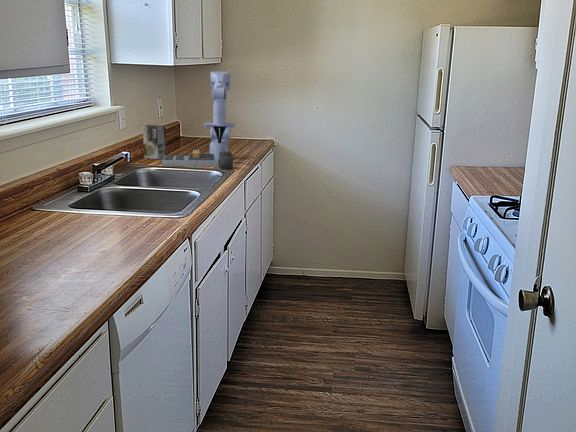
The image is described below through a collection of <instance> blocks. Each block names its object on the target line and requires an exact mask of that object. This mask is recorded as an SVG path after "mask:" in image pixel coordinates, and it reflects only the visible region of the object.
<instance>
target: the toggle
mask: <svg viewBox="0 0 576 432" xmlns="http://www.w3.org/2000/svg"><path fill="white" fill-rule="evenodd" d="M192 154H193V158H199V154H200V151H199V152H193V151H192Z"/></svg>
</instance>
